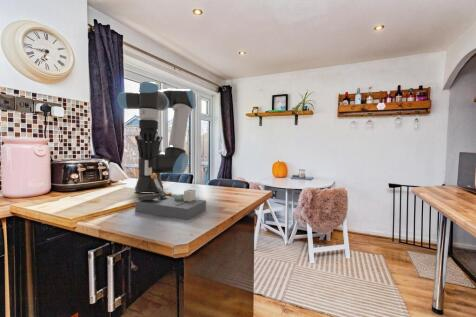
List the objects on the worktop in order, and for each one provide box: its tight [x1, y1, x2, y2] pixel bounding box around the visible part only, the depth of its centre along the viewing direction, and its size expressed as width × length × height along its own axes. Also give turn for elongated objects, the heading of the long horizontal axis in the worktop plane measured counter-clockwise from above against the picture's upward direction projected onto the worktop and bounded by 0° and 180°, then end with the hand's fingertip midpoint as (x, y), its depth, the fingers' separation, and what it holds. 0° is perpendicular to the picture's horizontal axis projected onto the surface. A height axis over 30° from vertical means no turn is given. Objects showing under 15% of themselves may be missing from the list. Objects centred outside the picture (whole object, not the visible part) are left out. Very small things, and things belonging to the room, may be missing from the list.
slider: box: [183, 189, 196, 202], centre depth 98 cm, size 4×3×4 cm
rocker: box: [137, 193, 161, 201], centre depth 96 cm, size 5×7×2 cm
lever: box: [151, 173, 167, 198], centre depth 101 cm, size 3×3×11 cm
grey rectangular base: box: [134, 193, 207, 221], centre depth 96 cm, size 14×24×6 cm, turn 70°
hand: (148, 174), depth 102 cm, fingers closed
